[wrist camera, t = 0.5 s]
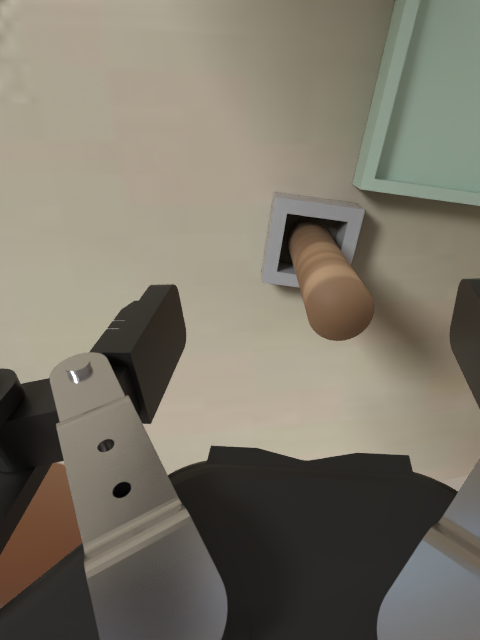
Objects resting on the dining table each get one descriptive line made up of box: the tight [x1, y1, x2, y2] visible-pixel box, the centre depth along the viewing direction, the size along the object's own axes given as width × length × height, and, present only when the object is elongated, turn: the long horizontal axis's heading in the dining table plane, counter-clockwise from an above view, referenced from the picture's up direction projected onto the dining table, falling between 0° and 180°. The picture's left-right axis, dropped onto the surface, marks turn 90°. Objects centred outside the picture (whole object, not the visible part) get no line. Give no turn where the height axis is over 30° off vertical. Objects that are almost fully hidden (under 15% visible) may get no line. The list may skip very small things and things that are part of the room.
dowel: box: [287, 219, 374, 341], centre depth 27 cm, size 3×3×14 cm
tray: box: [352, 0, 480, 206], centre depth 27 cm, size 15×11×2 cm
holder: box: [261, 192, 365, 287], centre depth 32 cm, size 6×6×2 cm
